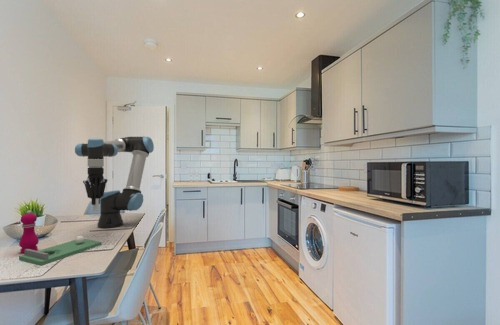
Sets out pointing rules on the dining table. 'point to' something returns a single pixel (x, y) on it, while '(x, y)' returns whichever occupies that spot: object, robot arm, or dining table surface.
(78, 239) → the ball
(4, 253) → the dining table surface
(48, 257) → the putting mat
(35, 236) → the pepper mill
